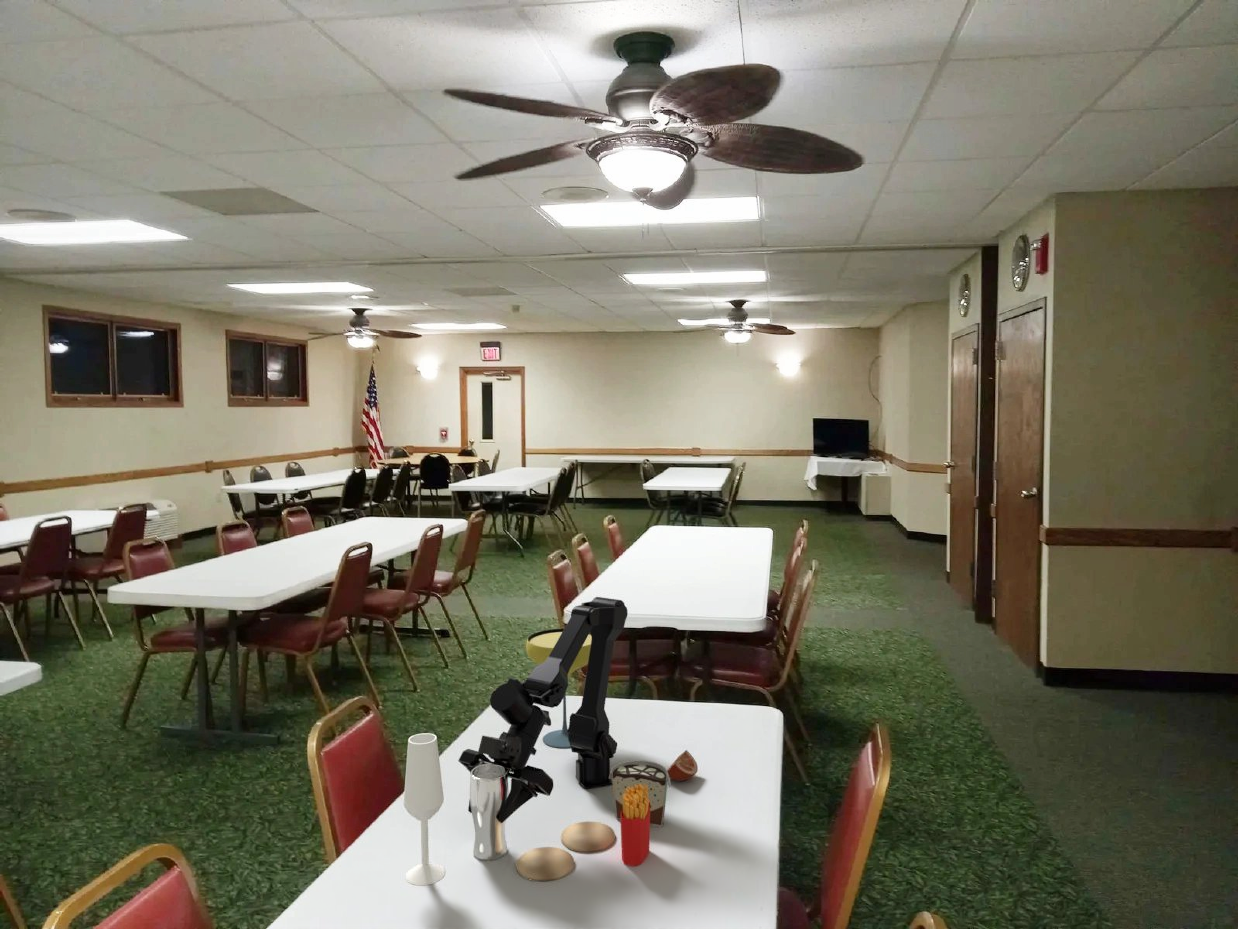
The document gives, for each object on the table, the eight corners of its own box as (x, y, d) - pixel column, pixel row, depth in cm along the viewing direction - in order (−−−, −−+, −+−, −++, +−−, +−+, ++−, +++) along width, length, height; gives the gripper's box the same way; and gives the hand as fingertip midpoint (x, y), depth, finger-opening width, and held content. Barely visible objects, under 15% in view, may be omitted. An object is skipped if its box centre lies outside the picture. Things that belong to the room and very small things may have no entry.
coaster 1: (564, 846, 152) (563, 842, 152) (581, 874, 143) (581, 871, 143) (510, 856, 148) (510, 853, 148) (524, 886, 139) (524, 883, 139)
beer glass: (502, 864, 146) (500, 781, 145) (464, 860, 147) (463, 778, 146) (514, 844, 153) (513, 764, 152) (479, 840, 154) (477, 761, 153)
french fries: (637, 870, 144) (637, 803, 143) (616, 865, 145) (616, 799, 145) (654, 846, 152) (654, 782, 151) (634, 842, 153) (634, 779, 152)
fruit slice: (673, 768, 185) (673, 746, 184) (702, 773, 182) (702, 751, 182) (660, 784, 177) (660, 761, 177) (690, 790, 174) (690, 766, 174)
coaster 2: (603, 820, 161) (603, 817, 161) (622, 845, 152) (622, 842, 152) (554, 830, 158) (554, 827, 158) (570, 856, 148) (570, 853, 148)
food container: (678, 813, 164) (678, 764, 163) (669, 828, 158) (669, 777, 158) (619, 804, 168) (618, 756, 167) (609, 818, 162) (608, 768, 162)
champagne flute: (408, 889, 139) (405, 749, 137) (402, 868, 145) (399, 734, 143) (449, 879, 141) (446, 742, 140) (441, 860, 147) (438, 728, 146)
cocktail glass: (560, 719, 214) (559, 624, 212) (616, 735, 203) (616, 635, 202) (511, 743, 199) (510, 640, 197) (570, 761, 189) (569, 653, 187)
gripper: (464, 707, 157) (423, 786, 148) (543, 726, 147) (504, 812, 138) (492, 733, 164) (454, 811, 155) (569, 753, 154) (533, 837, 146)
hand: (484, 817), depth 148 cm, fingers closed on beer glass, 7 cm apart
